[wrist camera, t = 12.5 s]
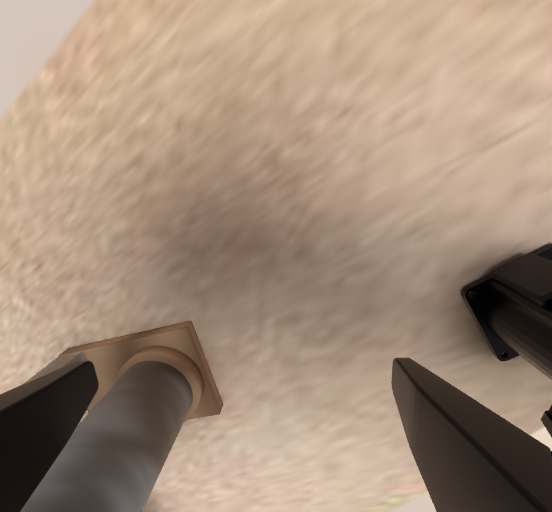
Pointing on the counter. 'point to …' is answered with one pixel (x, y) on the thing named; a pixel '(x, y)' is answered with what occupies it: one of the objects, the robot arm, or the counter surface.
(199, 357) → the grey h-shaped frame
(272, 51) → the counter surface
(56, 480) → the ball
